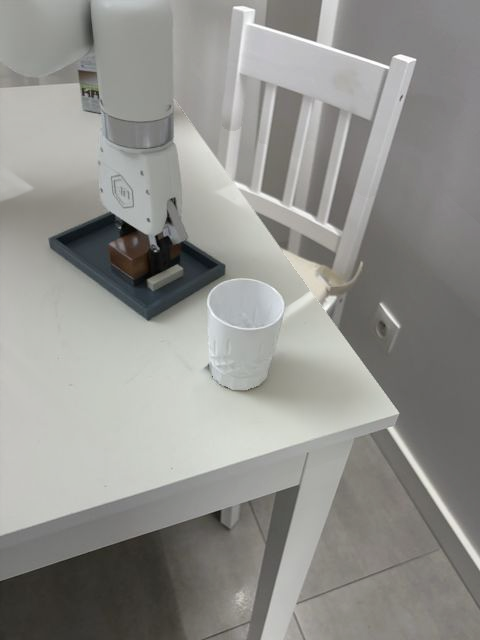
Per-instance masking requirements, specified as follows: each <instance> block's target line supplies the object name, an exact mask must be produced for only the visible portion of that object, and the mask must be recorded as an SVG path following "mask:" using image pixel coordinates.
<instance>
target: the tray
mask: <svg viewBox="0 0 480 640" xmlns="http://www.w3.org/2000/svg"><path fill="white" fill-rule="evenodd" d="M115 220H116V217H115V215H114V214H113V213H112V212H110V211H109V212H106V213H104V214H101V215H100V216H97V217H94V218H92V219H90V220H87V221H85V222H82V223H81V224H78V225H76V226H73V227H71V228H69V229H67V230H64V231H62V232H59V233H56V234H55V235H53V236H50V237H48V244H49V248H50V249H51V250H52V251H54V252H55V253H56V254H58V255H59V256H60V257H61V258H62V259H64V260H66V261H67V262H68V263H69V264H71V265H72V266H74V267H75V268H76V269H78V270H79V271H80V272H81V273H83V274H84V275H86V276H87V277H88V278H89V279H91V280H93V281H94V282H95V283H97V284H98V285H99V286H100V287H102V288H103V289H104V290H106V291H107V292H108V293H110V294H111V295H113V296H114V297H115V298H117V299H118V300H119V301H121V302H122V303H123V304H125V305H126V306H127V307H128V308H130V309H131V310H132V311H134V312H135V313H136V314H138V315H139V316H141V317H142V318H143V319H145V320H146V321H150V320H152V319H153V318H155V317H156V316H158V315H160V314H162V313H163V312H165V311H167V310H169V309H170V308H172V307H173V306H175V305H176V304H178V303H180V302H182V301H184V300H185V299H187V298H189V297H190V296H192V295H193V294H195V293H197V292H198V291H200V290H201V289H203V288H205V287H207V286H208V285H210V284H211V283H213V282H214V281H216V280H218V279H220V278H221V277H223V276H225V274H226V264H225V263H223V262H221V261H220V260H219V259H217V258H216V257H213V256H212V255H210V254H209V253H207V252H206V251H204V250H203V249H201V248H199V247H198V246H196V245H194V244H193V243H191V242H190V241H188V239H187V240H185V241H183V242H181V243H180V262H178V263H176V264H175V265H177V264H178V265H179V266H180V267H182V268H183V276H182V277H180V278H178V279H176V280H174V281H172V282H170V283H168V284H166V285H164V286H163V287H161V288H159V289H157V290H155V291H152V290H151V289H150V288H148V287H147V280H146V281H144V282H142V283H140V284H138V285H137V286H135V287H134V286H133V285H131V284H130V283H128V282H127V281H126V280H124V279H123V278H121V277H120V276H119V275H117V274H116V273H114V272H113V271H112V270H111V262H110V253H109V243H111V242H113V241H115V240H117V239H119V238H120V234H119V231H120V230H121V229H118V228H117V226H116V224H115ZM175 265H173V266H175ZM173 266H171V267H173ZM171 267H169V268H171ZM169 268H168V269H169Z"/></svg>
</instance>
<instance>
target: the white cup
mask: <svg viewBox="0 0 480 640" xmlns="http://www.w3.org/2000/svg"><path fill="white" fill-rule="evenodd" d="M206 307H207V308H206V310H207V312H206V313H207V351H208V368H209V367H210V368H209V371H210V375H211V374H212V375H211V377H212V376H213V377H212V378H213V380H215V381H216V380H217V381H218V382H219V383H218V382H217V381H216V382H217V383H218V385H220V384H221V385H223V386H222V387H224V386H226V387H228V388H227V389H229V388H231V389H232V391H245V390H246V391H249V390H251V389H250V388H252V389H255V388H257V387H256V386H258V387H259V386H261V384H262V383H264V382H265V381H266V379H267V378H268V373H269V369H270V365H271V363H272V360H273V358H274V355H275V351H276V349H277V348H276V347H277V344H278V340H279V336H280V331H281V327H282V324H283V319H284V315H285V312H286V302H285V300H284V297H283V295H282V294H281V293H280V292H279V291H278V290H277V289H276V288H274V287H273V286H272V285H270V284H268V283H266V282H265V281H264V282H263V281H261V280H257V279H253V278H247V277H246V278H245V277H244V278H242V277H240V278H231V279H228V280H225V281H222V282H220V283H217V285H215V286H214V287H212V289H211V290H210V291H209V293H208V295H207V299H206ZM221 385H220V386H221ZM226 387H225V388H226ZM254 387H255V388H254ZM231 389H230V390H231ZM248 389H249V390H248Z"/></svg>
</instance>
